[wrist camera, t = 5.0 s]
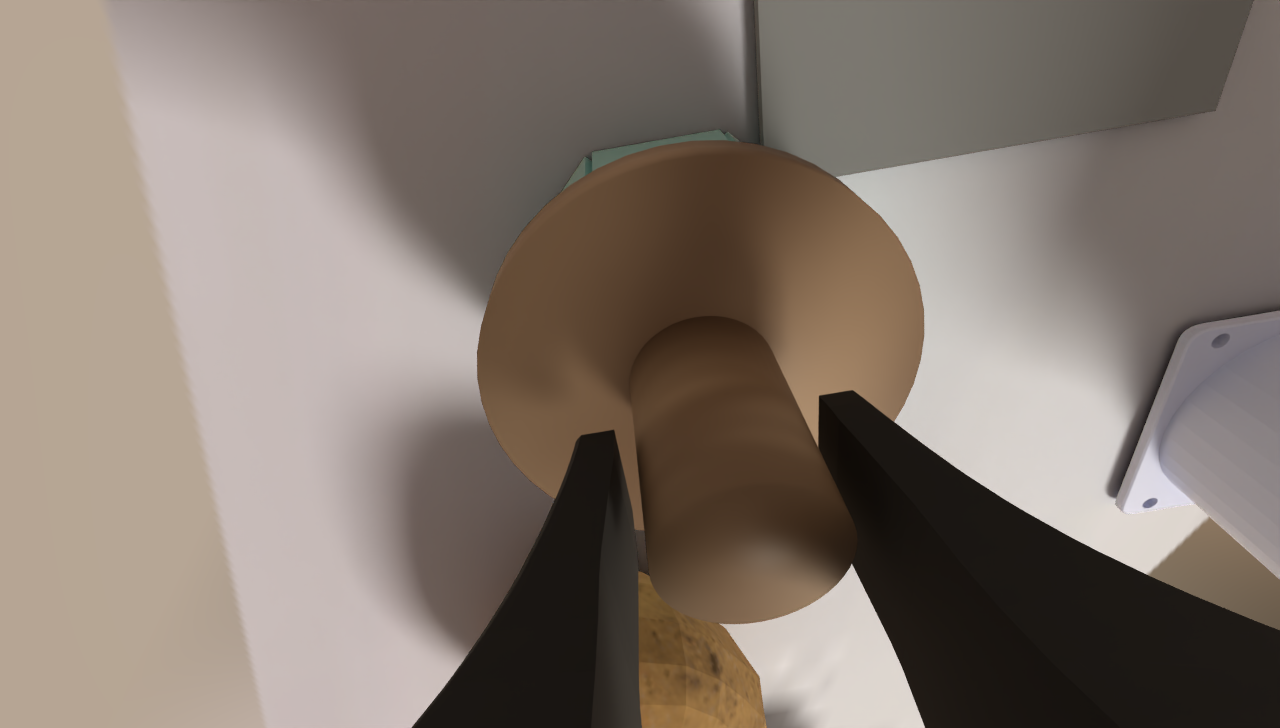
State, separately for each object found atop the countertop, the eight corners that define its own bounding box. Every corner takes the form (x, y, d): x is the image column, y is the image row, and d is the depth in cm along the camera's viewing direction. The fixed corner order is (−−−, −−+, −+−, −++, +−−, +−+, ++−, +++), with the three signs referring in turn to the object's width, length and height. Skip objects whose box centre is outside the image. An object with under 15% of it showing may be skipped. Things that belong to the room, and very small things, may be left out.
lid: (941, 119, 11) (1196, 231, 6) (870, 484, 16) (986, 695, 11) (436, 162, 11) (326, 312, 6) (523, 519, 16) (497, 749, 11)
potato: (738, 472, 21) (809, 711, 14) (739, 693, 29) (786, 916, 22) (452, 506, 21) (389, 763, 14) (531, 719, 29) (514, 950, 22)
